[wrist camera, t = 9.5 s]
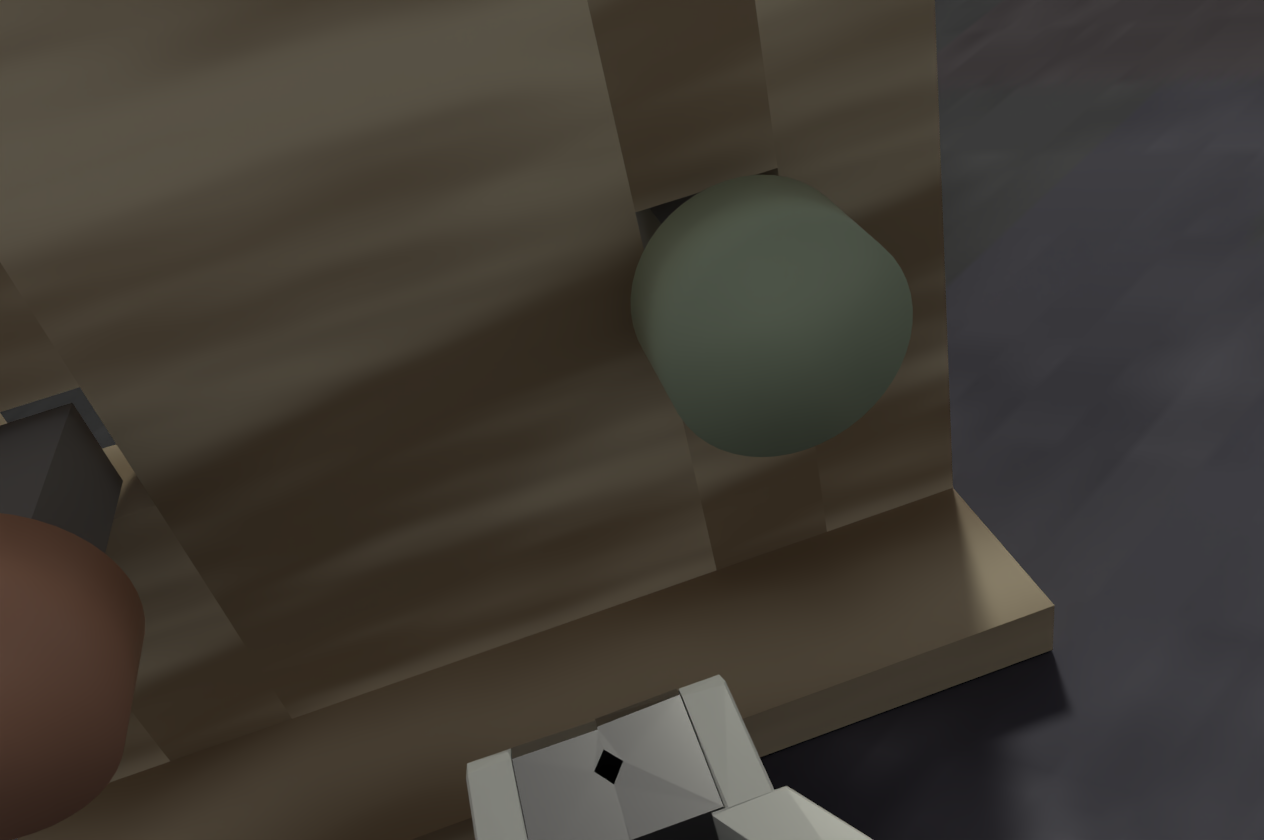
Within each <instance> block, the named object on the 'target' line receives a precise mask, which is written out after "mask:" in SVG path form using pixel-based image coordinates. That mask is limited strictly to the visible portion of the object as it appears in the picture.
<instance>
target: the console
mask: <svg viewBox="0 0 1264 840" xmlns="http://www.w3.org/2000/svg"><path fill="white" fill-rule="evenodd" d="M751 175H777V176H783V177H789V178H792V179H795V180H798V181H801V182H803V183H805V184H807V185H809V186H811V187H813V188H815V189H816V190H818V191H819V192H821V193H822V194H823V195H825V196H826V197H827V198H828V199H829V200H831V201H832V202H833V203H834V204H835V205H836V206H837V207H839V208H840V209H841V210H842V211H843V212H844V213H845V214H847V215H848V216H849V217H850V218H851V219H852V220H853V221H854V222H856V223H857V224H858V225H859V226H860V227H861V228H862V229H864V230H865V231H866V232H867V233H868V234H869V235H870V236H872V237H873V238H874V239H875V240H876V241H877V242H878V243H879V244H881V245H882V246H883V247H884V248H885V249H886V250H887V251H888V252H889V253H890V254H891V255H892V256H893V257H894V259H895V260H896V262H897V263H898V265H899V266H900V267H901V269H902V271H903V273H904V275H905V278H906V280H907V283H908V286H909V289H910V293H911V299H912V306H913V324H912V330H911V337H910V341H909V345H908V348H907V352H906V354H905V357H904V359H903V362H902V364H901V367H900V368H899V370H898V372H897V374H896V376H895V378H894V379H893V381H892V383H891V384H890V385H889V387H888V388H887V390H886V391H885V393H884V394H883V395H882V396H881V398H880V399H879V400H878V401H877V402H876V403H875V405H874V406H873V407H872V408H871V409H870V410H869V411H868V412H867V413H866V414H865V415H863V416H862V417H861V418H860V419H859V420H858V421H856V422H855V423H854V424H853V425H851V426H850V427H849V428H847V429H846V430H844V431H843V432H841V433H839V434H838V435H836V436H835V437H833V438H831V439H829V440H827V441H825V442H823V443H821V444H819V445H816V446H814V447H811V448H809V449H806V450H803V451H799V452H796V453H792V454H787V455H781V456H773V457H750V456H743V455H737V454H732V453H729V452H726V451H723V450H720V449H718V448H716V447H714V446H712V445H710V444H708V443H707V442H705V441H704V440H702V439H701V438H700V437H698V436H697V435H696V434H695V433H694V432H693V431H692V430H691V429H690V428H689V427H687V425H686V424H685V423H684V421H683V420H682V419H681V417H680V416H679V414H678V413H677V411H676V409H675V407H674V405H673V403H672V402H671V400H670V398H669V396H668V394H667V393H666V391H665V389H664V387H663V385H662V384H661V382H660V380H659V378H658V376H657V374H656V373H655V371H654V369H653V367H652V365H651V364H650V362H649V360H648V358H647V356H646V354H645V353H644V351H643V349H642V347H641V345H640V343H639V341H638V339H637V336H636V333H635V330H634V327H633V322H632V316H631V290H632V283H633V279H634V275H635V271H636V268H637V265H638V263H639V260H640V258H641V255H642V253H643V251H644V248H643V244H642V240H641V235H640V231H639V226H638V222H637V218H636V213H635V212H638V211H642V210H645V209H648V208H651V207H654V206H658V205H661V204H664V203H667V202H670V201H673V200H677V199H680V198H683V197H686V196H689V195H693V194H696V193H699V192H701V191H703V190H705V189H707V188H709V187H711V186H713V185H716V184H719V183H721V182H724V181H726V180H730V179H734V178H738V177H742V176H751ZM78 387H80V388H81V389H82V391H83V392H84V394H85V396H86V397H87V399H88V400H89V402H90V403H91V405H92V407H93V408H94V410H95V411H96V413H97V414H98V416H99V418H100V419H101V421H102V422H103V424H104V425H105V427H106V428H107V430H108V432H109V433H110V435H111V436H112V438H113V439H114V441H115V443H116V445H113V446H110V447H107V448H104V449H103V451H104V452H105V454H106V455H107V457H108V459H109V460H110V462H111V463H112V465H113V466H114V468H115V469H116V471H117V472H118V474H119V475H120V477H121V479H122V480H123V483H122V487H121V491H120V495H119V499H118V503H117V507H116V511H115V515H114V519H113V523H112V527H111V531H110V536H109V540H108V544H107V548H106V552H105V554H106V555H108V556H109V557H110V558H111V559H112V560H113V561H114V562H115V563H116V564H117V565H118V566H119V567H120V568H121V569H122V570H123V571H124V573H125V574H126V575H127V576H128V578H129V579H130V580H131V582H132V584H133V585H134V587H135V589H136V591H137V592H138V595H139V598H140V600H141V603H142V605H143V611H144V616H145V635H144V641H143V646H142V652H141V657H140V663H139V669H138V674H137V680H136V685H135V691H134V696H133V702H132V707H131V713H130V718H129V724H128V730H127V735H126V741H125V746H124V751H123V756H122V759H121V762H120V764H119V766H118V769H117V771H116V773H115V774H114V776H113V777H112V779H111V780H110V782H109V784H108V785H107V786H106V787H105V788H104V789H103V790H102V791H101V793H100V794H99V795H98V796H97V797H96V798H94V799H93V800H92V801H91V802H90V803H89V804H87V805H86V806H85V807H84V808H82V809H81V810H79V811H78V812H76V813H75V814H73V815H72V816H70V817H68V818H66V819H64V820H62V821H61V822H59V823H57V824H55V825H53V826H50V827H48V828H45V829H43V830H40V831H38V832H36V833H33V834H29V835H26V836H23V837H20V838H18V840H475V835H474V828H473V821H472V815H471V808H470V801H469V795H468V788H467V782H466V770H467V763H470V762H473V761H476V760H478V759H481V758H484V757H487V756H490V755H493V754H496V753H499V752H502V751H505V750H508V749H511V748H513V747H516V746H519V745H522V744H525V743H528V742H531V741H534V740H537V739H540V738H543V737H547V736H550V735H553V734H556V733H559V732H562V731H565V730H568V729H571V728H574V727H577V726H580V725H583V724H586V723H589V722H592V721H595V719H596V718H599V717H601V716H604V715H607V714H610V713H612V712H615V711H618V710H620V709H623V708H626V707H628V706H631V705H634V704H636V703H639V702H642V701H645V700H647V699H650V698H653V697H655V696H658V695H661V694H663V693H666V692H669V691H671V690H674V689H677V691H678V690H679V688H682V687H685V686H688V685H691V684H694V683H696V682H699V681H702V680H705V679H708V678H710V677H713V676H716V675H720V676H721V677H722V678H723V679H724V680H725V681H726V684H727V686H728V688H729V690H730V693H731V695H732V697H733V699H734V701H735V704H736V706H737V708H738V710H739V713H740V715H741V717H742V719H743V721H744V724H745V726H746V728H747V730H748V733H749V735H750V737H751V739H752V741H753V744H754V746H755V748H756V750H757V752H758V755H759V757H763V756H765V755H768V754H771V753H773V752H776V751H779V750H782V749H784V748H787V747H790V746H792V745H795V744H798V743H801V742H803V741H806V740H809V739H811V738H814V737H817V736H820V735H822V734H825V733H828V732H830V731H833V730H836V729H839V728H841V727H844V726H847V725H850V724H852V723H855V722H858V721H860V720H863V719H866V718H869V717H871V716H874V715H877V714H879V713H882V712H885V711H888V710H890V709H893V708H896V707H898V706H901V705H904V704H907V703H909V702H912V701H915V700H917V699H920V698H923V697H926V696H928V695H931V694H934V693H936V692H939V691H942V690H945V689H947V688H950V687H953V686H955V685H958V684H961V683H964V682H966V681H969V680H972V679H974V678H977V677H980V676H983V675H985V674H988V673H991V672H993V671H996V670H999V669H1002V668H1004V667H1007V666H1010V665H1012V664H1015V663H1018V662H1021V661H1023V660H1026V659H1029V658H1031V657H1034V656H1037V655H1040V654H1042V653H1045V652H1048V651H1050V650H1053V626H1054V604H1053V603H1052V602H1051V601H1050V600H1049V599H1048V597H1047V596H1046V595H1045V594H1044V593H1043V592H1042V591H1041V589H1040V588H1039V587H1038V586H1037V585H1036V584H1035V582H1034V581H1033V580H1032V579H1031V578H1030V577H1029V575H1028V574H1027V573H1026V572H1025V571H1024V570H1023V569H1022V567H1021V566H1020V565H1019V564H1018V563H1017V562H1016V560H1015V559H1014V558H1013V557H1012V556H1011V555H1010V553H1009V552H1008V551H1007V550H1006V549H1005V548H1004V547H1003V545H1002V544H1001V543H1000V542H999V541H998V540H997V538H996V537H995V536H994V535H993V534H992V533H991V531H990V530H989V529H988V528H987V527H986V526H985V525H984V523H983V522H982V521H981V520H980V519H979V518H978V516H977V515H976V514H975V513H974V512H973V511H972V509H971V508H970V507H969V506H968V505H967V504H966V503H965V501H964V500H963V499H962V498H961V497H960V496H959V494H958V493H957V492H956V491H955V490H954V489H953V479H952V452H951V426H950V399H949V372H948V345H947V319H946V292H945V265H944V238H943V212H942V185H941V158H940V132H939V105H938V78H937V51H936V25H935V0H0V412H2V411H5V410H8V409H11V408H15V407H18V406H21V405H24V404H27V403H30V402H34V401H37V400H40V399H43V398H46V397H50V396H53V395H56V394H59V393H62V392H65V391H69V390H72V389H75V388H78ZM4 424H7V422H6V421H5V419H4V418H3V416H2V415H1V414H0V425H4Z"/></svg>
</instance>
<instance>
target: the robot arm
mask: <svg viewBox="0 0 1264 840" xmlns="http://www.w3.org/2000/svg"><path fill="white" fill-rule="evenodd" d="M466 782H467V788H468V795H469V801H470V808H471V815H472V821H473V828H474V835H475V840H873V839H871V838H870V837H868V836H867V835H865V834H863V833H862V832H860V831H859V830H857V829H855V828H854V827H852V826H851V825H849V824H847V823H846V822H844V821H843V820H841V819H839V818H838V817H836V816H835V815H833V814H831V813H830V812H828V811H827V810H825V809H823V808H822V807H820V806H819V805H817V804H815V803H814V802H812V801H811V800H809V799H807V798H806V797H804V796H803V795H801V794H799V793H798V792H796V791H795V790H793V789H791V788H790V787H788V786H785V787H781V788H778V789H775V790H774V788H773V786H772V784H771V781H770V779H769V777H768V775H767V772H766V770H765V768H764V766H763V764H762V761H761V759H760V757H759V755H758V752H757V750H756V748H755V746H754V744H753V741H752V739H751V737H750V735H749V733H748V730H747V728H746V726H745V724H744V721H743V719H742V717H741V715H740V713H739V710H738V708H737V706H736V704H735V701H734V699H733V697H732V695H731V693H730V690H729V688H728V686H727V684H726V681H725V680H724V679H723V678H722V677H721V676H720V675H716V676H713V677H710V678H708V679H705V680H702V681H699V682H696V683H694V684H691V685H688V686H685V687H682V688H679V690H678V691H677V689H674V690H671V691H669V692H666V693H663V694H661V695H658V696H655V697H653V698H650V699H647V700H645V701H642V702H639V703H636V704H634V705H631V706H628V707H626V708H623V709H620V710H618V711H615V712H612V713H610V714H607V715H604V716H601V717H599V718H596V719H595V721H592V722H589V723H586V724H583V725H580V726H577V727H574V728H571V729H568V730H565V731H562V732H559V733H556V734H553V735H550V736H547V737H543V738H540V739H537V740H534V741H531V742H528V743H525V744H522V745H519V746H516V747H513V748H511V749H508V750H505V751H502V752H499V753H496V754H493V755H490V756H487V757H484V758H481V759H478V760H476V761H473V762H470V763H467V770H466Z"/></svg>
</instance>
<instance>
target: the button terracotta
mask: <svg viewBox="0 0 1264 840" xmlns="http://www.w3.org/2000/svg"><path fill="white" fill-rule="evenodd" d="M122 483H123V480H122V479H121V477H120V475H119V474H118V472H117V471H116V469H115V468H114V466H113V465H112V463H111V462H110V460H109V459H108V457H107V455H106V454H105V452H104V451H103V449H102V448H101V446H100V445H99V443H98V442H97V440H96V439H95V437H94V436H93V434H92V432H91V431H90V429H89V428H88V426H87V425H86V423H85V422H84V420H83V419H82V417H81V416H80V414H79V412H78V411H77V409H76V408H75V406H74V405H73V403H70V404H67V405H64V406H61V407H57V408H54V409H51V410H48V411H45V412H42V413H38V414H35V415H32V416H29V417H26V418H23V419H19V420H16V421H13V422H10V423H7V424H4V425H0V840H12V839H16V838H20V837H23V836H26V835H29V834H33V833H36V832H38V831H40V830H43V829H45V828H48V827H50V826H53V825H55V824H57V823H59V822H61V821H62V820H64V819H66V818H68V817H70V816H72V815H73V814H75V813H76V812H78V811H79V810H81V809H82V808H84V807H85V806H86V805H87V804H89V803H90V802H91V801H92V800H93V799H94V798H96V797H97V796H98V795H99V794H100V793H101V791H102V790H103V789H104V788H105V787H106V786H107V785H108V784H109V782H110V780H111V779H112V777H113V776H114V774H115V773H116V771H117V769H118V766H119V764H120V762H121V759H122V756H123V751H124V746H125V741H126V735H127V730H128V724H129V718H130V713H131V707H132V702H133V696H134V691H135V685H136V680H137V674H138V669H139V663H140V657H141V652H142V646H143V641H144V635H145V616H144V611H143V605H142V603H141V600H140V598H139V595H138V592H137V591H136V589H135V587H134V585H133V584H132V582H131V580H130V579H129V578H128V576H127V575H126V574H125V573H124V571H123V570H122V569H121V568H120V567H119V566H118V565H117V564H116V563H115V562H114V561H113V560H112V559H111V558H110V557H109V556H108V555H106V554H105V552H106V548H107V544H108V540H109V536H110V531H111V527H112V523H113V519H114V515H115V511H116V507H117V503H118V499H119V495H120V491H121V487H122Z"/></svg>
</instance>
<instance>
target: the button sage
mask: <svg viewBox="0 0 1264 840" xmlns="http://www.w3.org/2000/svg"><path fill="white" fill-rule="evenodd" d="M635 213H636V218H637V222H638V226H639V231H640V235H641V240H642V244H643V248H644V251H643V253H642V255H641V258H640V260H639V263H638V265H637V268H636V271H635V275H634V279H633V283H632V290H631V316H632V322H633V327H634V330H635V333H636V336H637V339H638V341H639V343H640V345H641V347H642V349H643V351H644V353H645V354H646V356H647V358H648V360H649V362H650V364H651V365H652V367H653V369H654V371H655V373H656V374H657V376H658V378H659V380H660V382H661V384H662V385H663V387H664V389H665V391H666V393H667V394H668V396H669V398H670V400H671V402H672V403H673V405H674V407H675V409H676V411H677V413H678V414H679V416H680V417H681V419H682V420H683V421H684V423H685V424H686V425H687V427H689V428H690V429H691V430H692V431H693V432H694V433H695V434H696V435H697V436H698V437H700V438H701V439H702V440H704V441H705V442H707V443H708V444H710V445H712V446H714V447H716V448H718V449H720V450H723V451H726V452H729V453H732V454H737V455H743V456H750V457H773V456H781V455H787V454H792V453H796V452H799V451H803V450H806V449H809V448H811V447H814V446H816V445H819V444H821V443H823V442H825V441H827V440H829V439H831V438H833V437H835V436H836V435H838V434H839V433H841V432H843V431H844V430H846V429H847V428H849V427H850V426H851V425H853V424H854V423H855V422H856V421H858V420H859V419H860V418H861V417H862V416H863V415H865V414H866V413H867V412H868V411H869V410H870V409H871V408H872V407H873V406H874V405H875V403H876V402H877V401H878V400H879V399H880V398H881V396H882V395H883V394H884V393H885V391H886V390H887V388H888V387H889V385H890V384H891V383H892V381H893V379H894V378H895V376H896V374H897V372H898V370H899V368H900V367H901V364H902V362H903V359H904V357H905V354H906V352H907V348H908V345H909V341H910V337H911V330H912V324H913V306H912V299H911V293H910V289H909V286H908V283H907V280H906V278H905V275H904V273H903V271H902V269H901V267H900V266H899V265H898V263H897V262H896V260H895V259H894V257H893V256H892V255H891V254H890V253H889V252H888V251H887V250H886V249H885V248H884V247H883V246H882V245H881V244H879V243H878V242H877V241H876V240H875V239H874V238H873V237H872V236H870V235H869V234H868V233H867V232H866V231H865V230H864V229H862V228H861V227H860V226H859V225H858V224H857V223H856V222H854V221H853V220H852V219H851V218H850V217H849V216H848V215H847V214H845V213H844V212H843V211H842V210H841V209H840V208H839V207H837V206H836V205H835V204H834V203H833V202H832V201H831V200H829V199H828V198H827V197H826V196H825V195H823V194H822V193H821V192H819V191H818V190H816V189H815V188H813V187H811V186H809V185H807V184H805V183H803V182H801V181H798V180H795V179H792V178H789V177H783V176H777V175H751V176H742V177H738V178H734V179H730V180H726V181H724V182H721V183H719V184H716V185H713V186H711V187H709V188H707V189H705V190H703V191H701V192H699V193H696V194H693V195H689V196H686V197H683V198H680V199H677V200H673V201H670V202H667V203H664V204H661V205H658V206H654V207H651V208H648V209H645V210H642V211H638V212H635Z"/></svg>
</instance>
